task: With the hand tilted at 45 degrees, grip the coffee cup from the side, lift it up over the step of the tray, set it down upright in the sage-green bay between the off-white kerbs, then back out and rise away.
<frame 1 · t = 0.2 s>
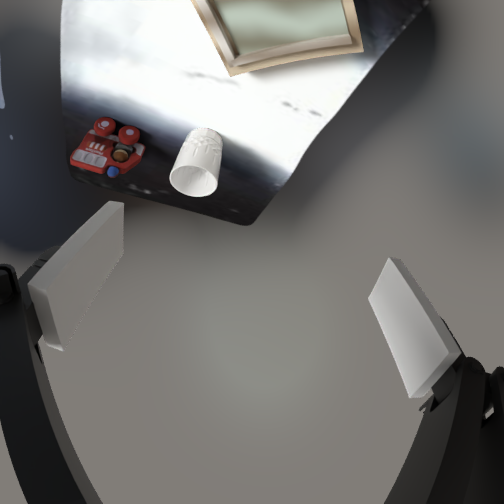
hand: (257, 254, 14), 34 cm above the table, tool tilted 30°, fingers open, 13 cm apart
white cup: (204, 140, 51), on the table
toy fire truck: (119, 133, 50), on the table
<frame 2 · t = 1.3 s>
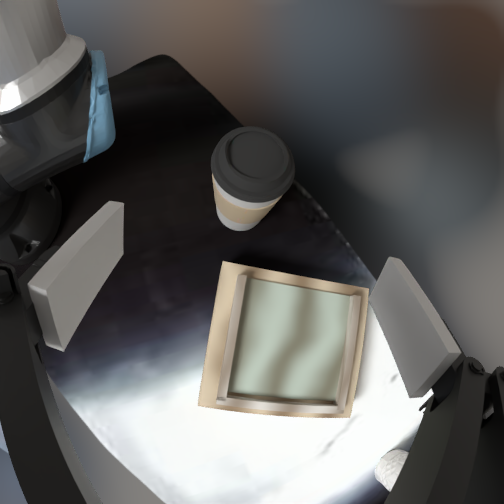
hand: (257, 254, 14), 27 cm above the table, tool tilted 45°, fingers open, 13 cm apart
white cup: (389, 465, 36), on the table
coffee cup: (239, 208, 43), on the table
tray: (283, 345, 39), on the table
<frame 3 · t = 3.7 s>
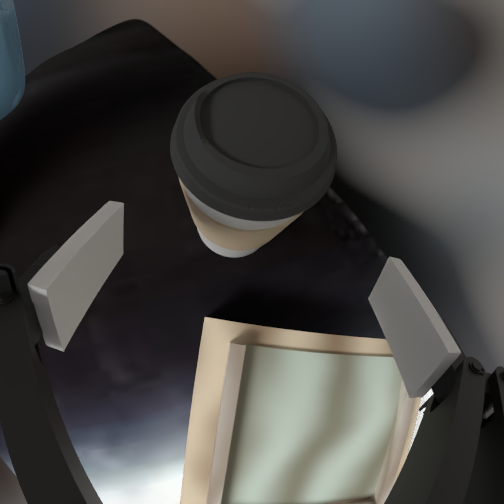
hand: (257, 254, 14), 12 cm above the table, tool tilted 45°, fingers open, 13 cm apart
coffee cup: (233, 221, 27), on the table
tray: (301, 427, 23), on the table
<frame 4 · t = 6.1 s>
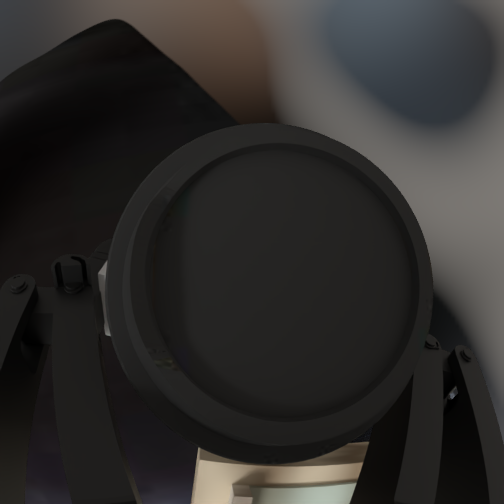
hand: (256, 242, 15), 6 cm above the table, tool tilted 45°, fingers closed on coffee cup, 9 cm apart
coffee cup: (234, 312, 20), on the table, touching gripper
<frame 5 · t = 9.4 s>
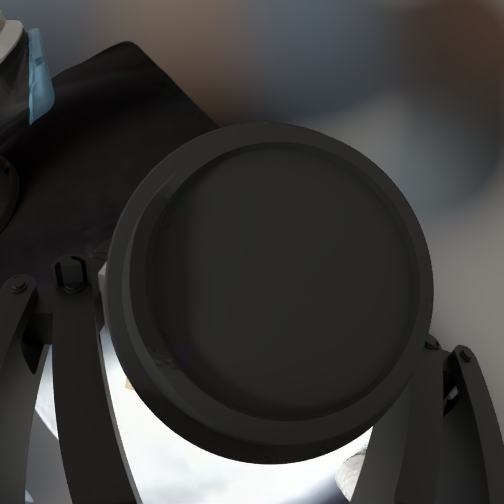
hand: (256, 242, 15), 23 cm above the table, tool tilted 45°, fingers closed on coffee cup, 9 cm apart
white cup: (354, 471, 34), on the table
coffee cup: (234, 312, 20), point 17 cm above the table, touching gripper
when the fingers open (12 cm above the table, at t = 12.8 s): coffee cup drops 1 cm, resting on tray.
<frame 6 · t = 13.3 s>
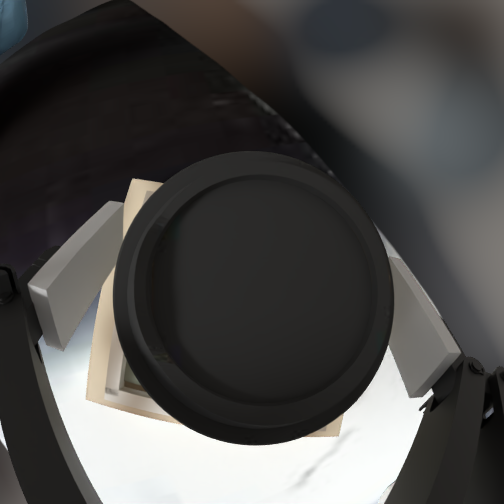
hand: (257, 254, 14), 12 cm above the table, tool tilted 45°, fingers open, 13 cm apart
coffee cup: (229, 313, 21), point 4 cm above the table, touching tray
tray: (228, 315, 25), on the table
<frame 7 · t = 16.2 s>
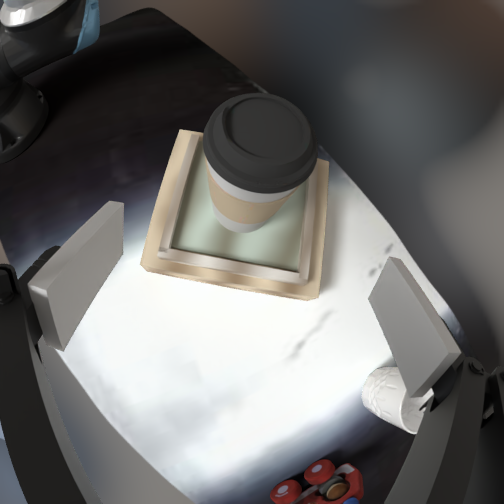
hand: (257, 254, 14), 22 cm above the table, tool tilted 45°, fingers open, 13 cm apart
white cup: (380, 389, 35), on the table
coffee cup: (241, 205, 34), point 4 cm above the table, touching tray
tray: (240, 217, 38), on the table
toy fire truck: (308, 485, 31), on the table
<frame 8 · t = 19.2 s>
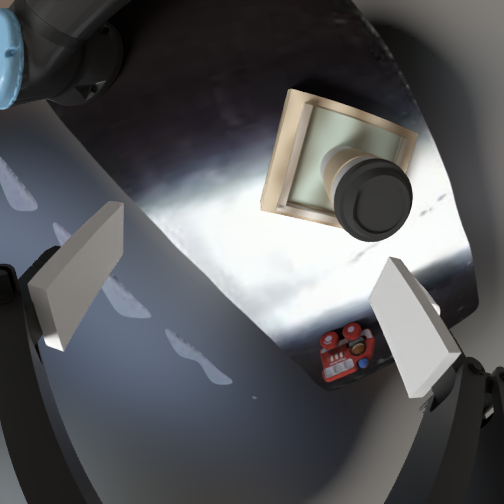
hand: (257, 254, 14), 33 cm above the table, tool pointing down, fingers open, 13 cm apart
coffee cup: (342, 169, 40), point 4 cm above the table, touching tray
tray: (336, 162, 44), on the table
toy fire truck: (342, 335, 63), on the table
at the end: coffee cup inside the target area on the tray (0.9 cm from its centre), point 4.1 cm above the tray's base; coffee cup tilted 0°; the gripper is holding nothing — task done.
